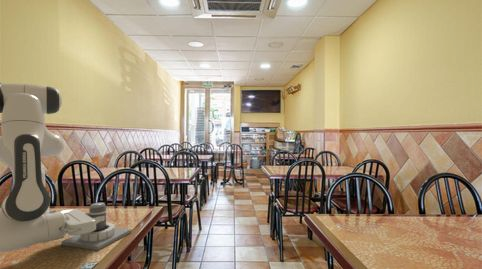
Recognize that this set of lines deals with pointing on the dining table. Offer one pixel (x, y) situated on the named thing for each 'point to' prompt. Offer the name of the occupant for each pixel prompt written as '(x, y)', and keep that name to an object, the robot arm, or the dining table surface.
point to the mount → (97, 238)
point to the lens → (96, 211)
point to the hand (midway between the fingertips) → (100, 215)
